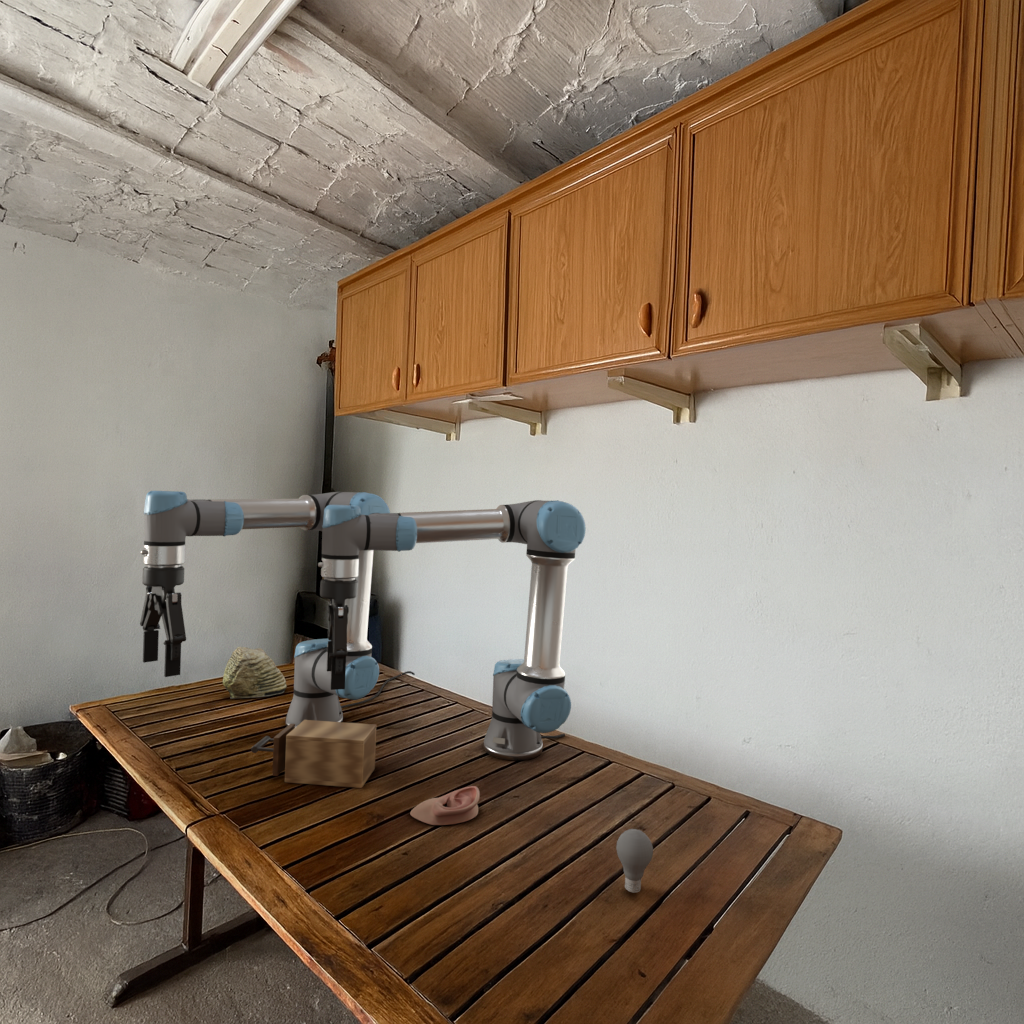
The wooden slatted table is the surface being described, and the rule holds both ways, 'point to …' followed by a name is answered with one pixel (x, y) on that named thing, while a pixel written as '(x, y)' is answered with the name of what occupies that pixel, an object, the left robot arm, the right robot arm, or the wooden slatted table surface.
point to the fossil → (252, 674)
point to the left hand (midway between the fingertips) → (160, 668)
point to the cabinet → (330, 753)
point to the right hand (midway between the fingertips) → (335, 679)
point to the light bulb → (634, 857)
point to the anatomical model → (449, 807)
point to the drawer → (275, 749)
